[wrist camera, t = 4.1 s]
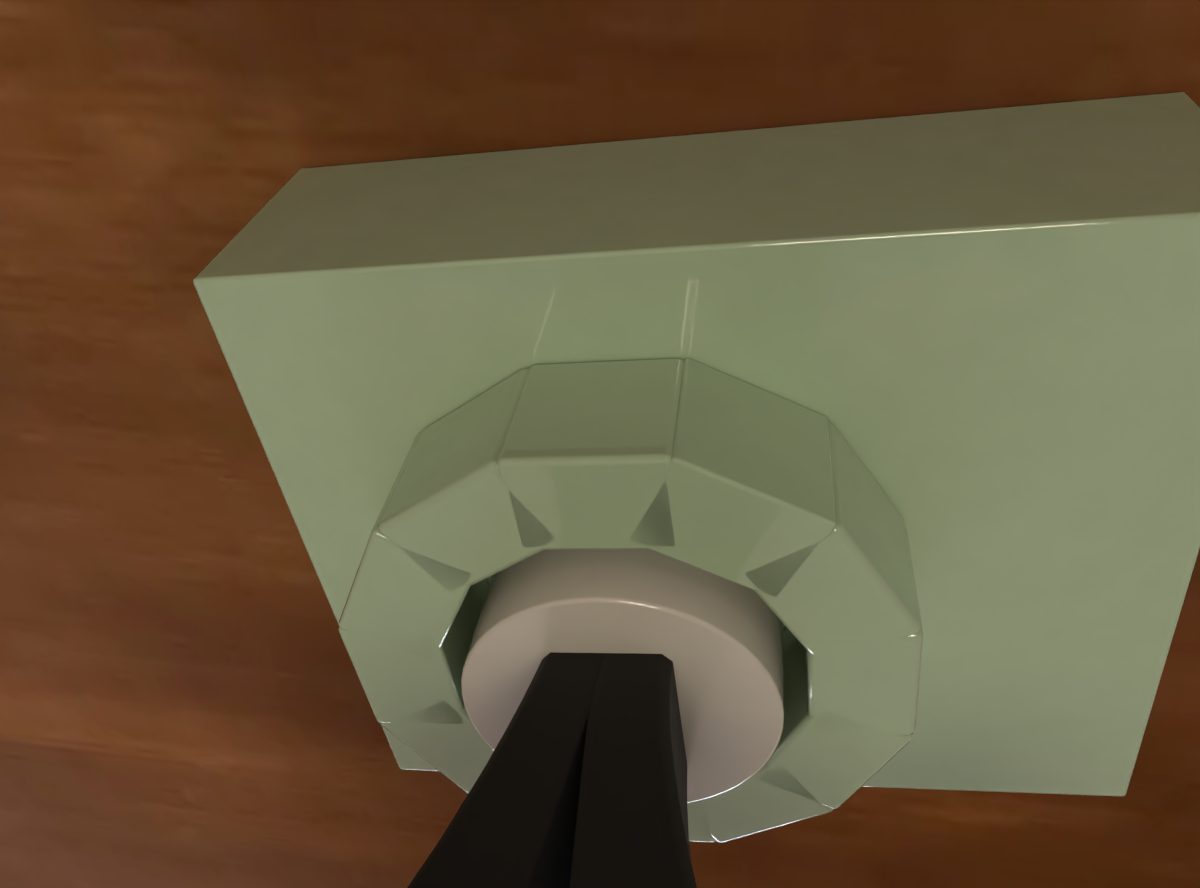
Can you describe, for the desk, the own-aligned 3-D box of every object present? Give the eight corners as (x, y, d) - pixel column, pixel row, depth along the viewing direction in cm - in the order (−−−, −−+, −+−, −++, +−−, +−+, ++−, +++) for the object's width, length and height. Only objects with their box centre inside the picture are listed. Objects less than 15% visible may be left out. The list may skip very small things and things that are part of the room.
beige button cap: (778, 467, 11) (779, 600, 10) (786, 677, 13) (788, 814, 12) (473, 474, 12) (426, 599, 10) (527, 672, 14) (495, 801, 12)
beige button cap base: (1187, 89, 11) (1405, 306, 7) (1072, 629, 17) (1165, 922, 13) (298, 167, 13) (103, 368, 10) (449, 624, 19) (363, 874, 15)
